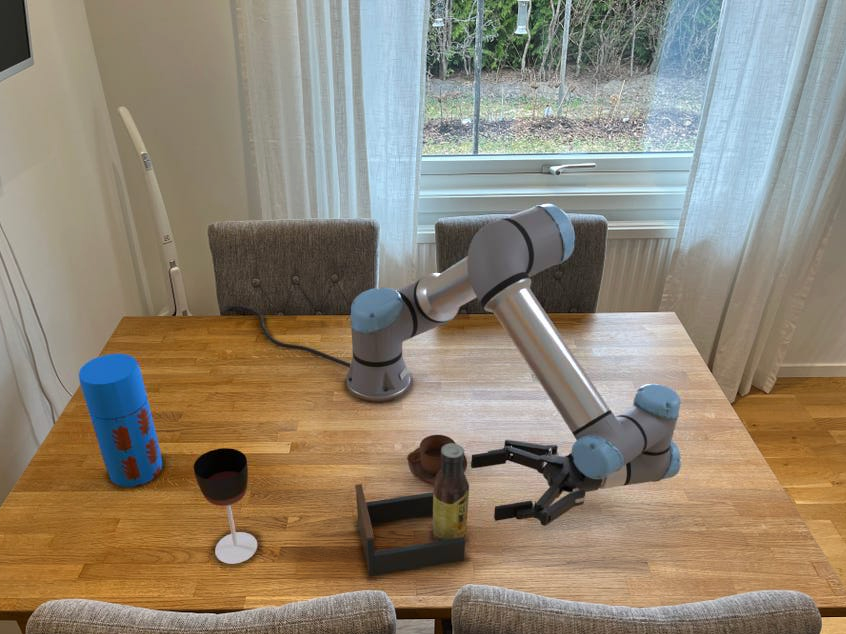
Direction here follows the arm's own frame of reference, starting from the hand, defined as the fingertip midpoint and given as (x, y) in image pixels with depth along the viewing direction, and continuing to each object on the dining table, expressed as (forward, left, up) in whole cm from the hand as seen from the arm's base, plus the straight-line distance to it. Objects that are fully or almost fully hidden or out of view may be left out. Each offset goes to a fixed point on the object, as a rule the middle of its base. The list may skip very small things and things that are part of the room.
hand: (482, 486), depth 127 cm
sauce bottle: (-4, -4, -11) cm, 13 cm away
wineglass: (-37, -24, -11) cm, 46 cm away
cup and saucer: (-14, +12, -11) cm, 21 cm away
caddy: (-10, -8, -11) cm, 17 cm away
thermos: (-69, -17, -11) cm, 72 cm away
